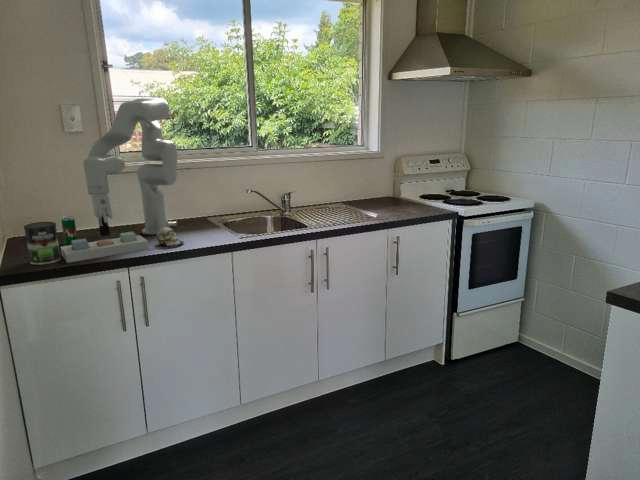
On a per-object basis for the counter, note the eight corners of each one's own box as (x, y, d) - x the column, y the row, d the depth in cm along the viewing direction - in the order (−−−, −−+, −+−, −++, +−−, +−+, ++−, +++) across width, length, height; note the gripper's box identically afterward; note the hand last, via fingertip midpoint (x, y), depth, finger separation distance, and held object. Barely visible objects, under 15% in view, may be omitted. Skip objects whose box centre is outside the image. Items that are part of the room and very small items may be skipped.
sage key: (133, 240, 194) (132, 231, 193) (136, 243, 190) (135, 233, 189) (120, 242, 191) (119, 233, 190) (124, 245, 187) (123, 235, 186)
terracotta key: (111, 248, 189) (109, 238, 188) (114, 250, 185) (113, 241, 184) (98, 250, 186) (96, 240, 185) (100, 253, 182) (99, 243, 181)
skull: (191, 240, 198) (178, 226, 190) (178, 260, 194) (164, 247, 186) (171, 236, 204) (157, 222, 196) (159, 255, 200) (144, 242, 192)
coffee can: (63, 261, 174) (57, 225, 170) (31, 266, 168) (24, 229, 165) (59, 255, 182) (53, 220, 178) (28, 259, 176) (22, 223, 173)
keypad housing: (140, 242, 199) (139, 234, 198) (148, 248, 190) (147, 240, 189) (61, 255, 182) (60, 246, 181) (67, 262, 172) (66, 253, 172)
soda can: (75, 242, 200) (71, 215, 197) (80, 244, 197) (76, 216, 194) (62, 244, 196) (58, 217, 193) (68, 246, 193) (63, 218, 190)
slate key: (86, 248, 183) (85, 238, 182) (89, 251, 180) (87, 241, 178) (72, 250, 180) (71, 240, 179) (75, 253, 177) (73, 243, 176)
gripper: (113, 191, 176) (120, 237, 181) (104, 186, 187) (110, 229, 192) (92, 193, 171) (99, 241, 177) (83, 188, 183) (91, 232, 188)
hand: (105, 235), depth 185 cm, fingers closed
